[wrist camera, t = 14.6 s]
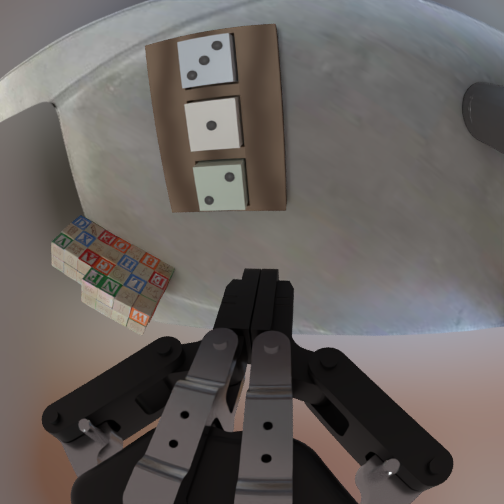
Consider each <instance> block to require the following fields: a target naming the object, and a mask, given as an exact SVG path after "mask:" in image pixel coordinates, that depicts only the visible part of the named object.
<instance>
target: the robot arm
mask: <svg viewBox="0 0 504 504" xmlns="http://www.w3.org/2000/svg"><path fill="white" fill-rule="evenodd" d="M463 116H464V121H465V124H466V126H467V128H468V130H469V132H470V133H471V134H472V135H473V136H474V137H475V138H476V139H477V140H479V141H481V142H483V143H485V144H487V145H489V146H491V147H492V148H494V149H496V150H498V151H499V152H501V153H503V154H504V87H503V86H499V85H494V84H488V83H481V82H480V83H475V84H474V85H472V86H471V87H470V88H469V89H468V90H467V92H466V94H465V96H464V100H463ZM293 300H294V288H293V286H292V285H291V283H290V281H279V272H278V269H262V270H261V269H244V273H243V276H242V280H238V279H233V280H232V281H231V282H230V283H229V284H228V285H227V286H226V289H225V292H224V297H223V299H222V302H221V305H220V308H219V311H218V315H217V318H216V321H215V324H214V327H213V330H211V331H209V332H208V333H207V334H206V335H205V336H204V337H203V339H202V340H201V341H198V342H193V343H187V344H181V343H180V341H179V340H178V339H176V338H174V337H169V336H166V337H161V338H158V339H157V340H155V341H153V342H152V343H150V344H149V345H147V346H145V347H144V348H142V349H141V350H139V351H138V352H136V353H134V354H133V355H131V356H130V357H128V358H126V359H125V360H123V361H122V362H120V363H118V364H117V365H115V366H113V367H112V368H110V369H109V370H107V371H105V372H104V373H102V374H101V375H99V376H97V377H96V378H94V379H92V380H91V381H89V382H88V383H86V384H84V385H82V386H81V387H79V388H77V389H76V390H74V391H73V392H71V393H69V394H68V395H66V396H64V397H63V398H61V399H59V400H57V401H56V402H54V403H52V404H51V405H49V406H48V407H47V408H46V409H45V411H44V412H43V415H42V424H43V427H44V428H45V430H46V431H48V432H49V433H50V434H52V435H53V436H54V437H56V438H57V439H58V440H59V441H60V442H61V443H62V445H63V447H64V450H65V452H66V454H67V456H68V458H69V461H70V462H71V465H72V467H73V469H74V471H75V473H76V475H77V477H78V478H77V479H76V481H75V482H74V484H73V487H72V490H71V503H72V504H358V503H357V502H356V501H355V499H354V498H353V497H352V496H351V495H350V494H349V492H348V491H347V490H346V489H345V488H344V486H343V485H342V484H341V483H340V482H339V480H338V479H337V478H336V477H335V476H334V474H333V473H332V472H331V471H330V470H329V468H328V467H327V466H326V465H325V463H324V462H323V461H322V460H321V458H320V457H319V456H318V455H317V454H316V452H315V451H314V450H313V449H311V448H310V447H309V446H307V445H306V444H305V443H303V442H301V441H299V440H296V439H294V438H293V403H292V398H296V399H298V400H301V401H304V402H305V404H306V405H307V407H308V408H309V409H310V410H311V411H312V413H313V414H314V415H315V416H316V417H317V418H318V419H319V421H320V422H321V423H322V424H323V425H324V426H325V427H326V428H327V430H328V431H329V432H330V433H331V434H332V435H333V436H334V437H335V439H336V440H337V441H338V442H339V443H340V444H341V445H342V446H343V447H344V448H345V449H346V450H347V452H348V453H349V454H350V455H351V456H352V457H353V458H354V459H355V460H356V461H357V462H358V463H359V464H360V465H361V467H360V468H359V470H358V471H357V473H356V477H355V483H356V486H357V487H358V489H359V490H360V493H361V503H360V504H411V502H413V501H414V500H415V499H416V498H417V497H418V496H419V495H420V494H421V493H422V492H423V491H425V490H427V489H430V488H432V487H435V486H437V485H439V484H441V483H443V482H444V481H445V480H447V478H448V477H449V476H450V474H451V472H452V469H453V458H452V456H451V454H450V453H449V452H448V451H447V450H446V449H445V448H444V447H443V446H442V445H441V444H440V443H439V442H438V441H437V440H435V439H434V438H433V437H432V436H431V435H430V434H429V433H428V432H427V431H426V430H425V429H423V428H422V427H421V426H420V425H419V424H418V423H417V422H416V421H415V420H414V419H413V418H412V417H411V416H409V415H408V414H407V413H406V412H405V411H404V410H403V409H402V408H401V407H400V406H399V405H398V404H397V403H395V402H394V401H393V400H392V399H391V398H390V397H389V396H388V395H387V394H386V393H385V392H384V391H383V390H382V389H381V388H379V387H378V386H377V385H376V384H375V383H374V382H373V381H372V380H371V379H370V378H369V377H368V376H367V375H366V374H365V373H363V372H362V371H361V370H360V369H359V368H358V367H357V366H356V365H355V364H354V363H353V362H352V361H351V360H350V359H349V358H348V357H347V356H346V355H345V354H344V353H342V352H341V351H339V350H338V349H335V348H329V347H328V348H321V349H319V350H317V351H315V352H313V351H310V350H306V349H304V348H302V347H300V346H298V345H297V344H296V343H295V341H294V340H293V338H292V325H293ZM247 364H251V370H250V383H249V389H248V390H247V393H246V401H245V412H244V422H243V431H237V432H233V429H234V417H235V413H236V410H237V406H238V403H239V399H240V395H241V392H242V388H243V385H244V381H245V372H246V367H247ZM159 417H161V418H160V420H159V423H158V425H157V427H156V428H154V429H152V430H150V431H148V432H147V433H146V434H144V435H143V436H141V437H140V438H138V439H137V440H135V441H134V442H132V443H131V444H129V445H128V446H126V447H125V448H123V441H124V440H125V439H127V438H128V437H130V436H132V435H133V434H135V433H136V432H138V431H140V430H141V429H143V428H144V427H146V426H147V425H149V424H150V423H152V422H153V421H155V420H156V419H158V418H159Z"/></svg>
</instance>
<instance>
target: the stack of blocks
mask: <svg viewBox="0 0 504 504" xmlns="http://www.w3.org/2000/svg"><path fill="white" fill-rule="evenodd" d="M51 252H52V266H54V267H55V268H57V269H58V270H60V271H61V272H63V273H64V274H65V275H67V276H68V277H70V278H72V279H73V280H75V281H77V282H78V283H79V284H81V285H82V298H81V301H82V302H83V303H85V304H87V305H88V306H90V307H92V308H93V309H95V310H97V311H98V312H100V313H102V314H104V315H105V316H107V317H109V318H111V319H113V320H115V321H116V322H118V323H120V324H122V325H123V326H126V327H127V328H128V329H130V330H132V331H134V332H136V333H138V334H140V335H143V333H144V330H145V328H146V326H147V324H148V323H149V322H150V320H151V318H152V316H153V314H154V312H155V310H156V307H157V305H158V303H159V301H160V299H161V297H162V295H163V294H164V292H165V290H166V287H167V285H168V283H169V281H170V278H171V276H172V274H173V272H174V270H175V268H173V267H171V266H170V265H168V264H166V263H164V262H162V261H161V260H159V259H157V258H156V257H154V256H152V255H150V254H148V253H146V252H145V251H143V250H141V249H140V248H138V247H136V246H134V245H131V244H130V243H128V242H126V241H124V240H122V239H121V238H119V237H117V236H115V235H113V234H112V233H110V232H108V231H106V230H105V229H103V228H102V227H100V226H98V225H97V224H95V223H93V222H91V221H90V220H88V219H86V218H85V217H83V216H79V217H78V218H77V219H75V220H74V221H73V222H72V223H71V224H69V225H68V226H67V227H66V228H65V229H64V230H63V231H62V233H60V234H59V235H58V236H57V237H56V238H55V239H54V240H53V241H52V250H51Z"/></svg>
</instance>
